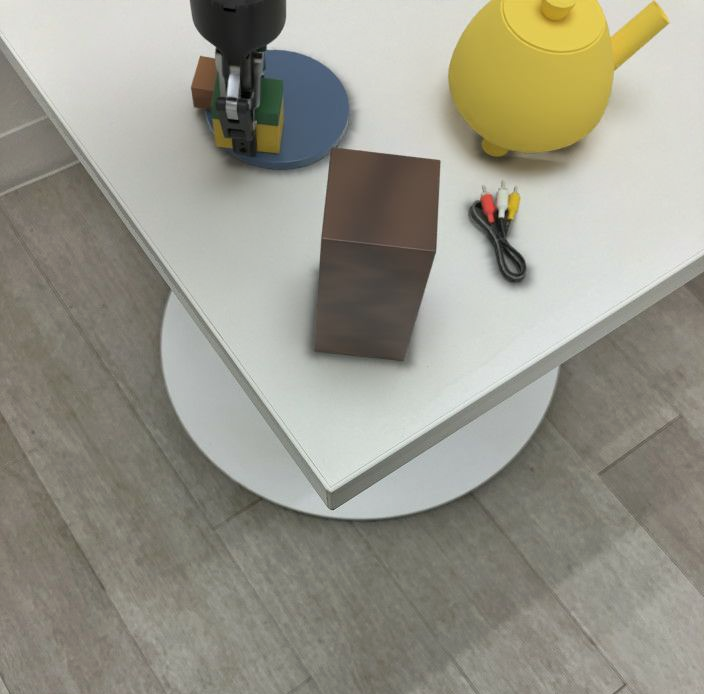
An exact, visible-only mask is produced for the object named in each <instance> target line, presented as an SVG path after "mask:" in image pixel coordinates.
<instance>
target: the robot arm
mask: <svg viewBox="0 0 704 694" xmlns="http://www.w3.org/2000/svg"><path fill="white" fill-rule="evenodd" d="M189 5H190V14H191V19H192V23H193V25H194V27H195V29H196V31H197V33H198V34H199V35H200V36H201V37H202V38H203V39H204V40H205V41H207V42H208V43H209V44H211V45H212V46H213V47H214V48H215V49H214V58H215V66H216V70H217V71H218V73H219V85H220V96H217V101H216V102H215V107H216V109H217V114H218V117H219V121H220V124H221V128H222V131H223V135H224V138H232V146H233V152H234V153H235V154H238V155H246V156H255V155H256V153H257V136H256V126H257V120H256V108H258V107H259V105H260V101H261V96H262V95H261V77H262V78H265V73H264V70H265V69H266V63H267V50H268V45H269V44H271V43H272V42H274V41H275V40H276V39H277V38H278V37H279V36H280V34H281V33H282V31H283V30H284V27H285V25H286V21H287V0H189ZM253 86H254V91H247V90H250V89H251V88H253ZM242 90H246V91H242Z"/></svg>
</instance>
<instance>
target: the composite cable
mask: <svg viewBox="0 0 704 694" xmlns="http://www.w3.org/2000/svg"><path fill="white" fill-rule="evenodd" d="M481 189H482V193H480V198H479V199H476V200H474V201H473V202H472V204H471V205H470V207H469V208H468V213H469V214H470V217H471V219H472V221H473V222H474V223H475V224H476V225H477V226H478V227H479V228H481V230H482V231H483V232H484V233H485V234H486V235H487V236H488V237H489V238H490V240H491V242H492V243H493V245H494V248H495V251H496V257H497V262H498V266H499V269H500V272H501V274H502V276H503V277H504V278H505V279H506V280H508V281H510V282H513V283H517V282H521V281H523V279H524V278H525V276H526V274H527V271H528V270H527V262H526V259H525V257H524V256H523V255H522V254H521V252H519V251H518V250H517V249H515V247H514V246H512V244H510V242H509V241H508V235H509V231H510V229H511V227H512V222H513V221H514V219H515V215H516V214H518V212H519V207H520V203H521V195H520V193H519V191H518V190H519V185H514V187H513V191H512V192H511V193H510V191H509V190H508V188H507V187H506V181H505V180H501V185H500V187H498V188H497V191H496V193H495V203H494V199H493V195H492V194H491V192H490V191H488V190H487V186H486V185H485V184H482V185H481ZM476 209H479V210H481V211H482V213H483V215H484V216H485V217H486V218H487V222H486V221H484V219H483V218H482V217H481V216H480V215H479V214H478V213H477V210H476ZM504 253H505V254H506V255H507V256H508V257H509V259H510V260H511V261H513V262H514V264H515V265H516V266H517V268H518V270H519V272H512V271H511V270H510V269H509V267H508V265H507V263H506V259H505V254H504Z"/></svg>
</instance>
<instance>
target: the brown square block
mask: <svg viewBox="0 0 704 694" xmlns="http://www.w3.org/2000/svg"><path fill="white" fill-rule="evenodd" d="M217 72H218V71H217V70H216V66H215V57H211V56H205V55H199V58H198V61H197V65H196V68H195V71H194V75H193V78H192V82H191V85H190V90H191V96H192V97H191V98H192V104H193V108H196V109H201V110H205V109H206V110H211V102H212V96H213V91H214V85H215V80H216V74H217Z"/></svg>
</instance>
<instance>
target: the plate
mask: <svg viewBox="0 0 704 694" xmlns="http://www.w3.org/2000/svg"><path fill="white" fill-rule="evenodd" d="M264 73H265V78H270V79H279V80H283V108H284V123H283V130H282V137H281V144H280V151H279V154H276V153H268V152H259V151H257V153H256V155H255V156H246V155H238V154H235V153H234V152H233V148H224V147H222V148H223V149H224V150H225V151H226V152H227V153H229V154H230V155H231V156H233V157H234V158H236V159H238V160H240V161H241V162H243V163H246V164H248V165H252V166H255V167H258V168H263V169H269V170H290V169H296V168H297V169H298V168H302V167H306V166H309V165H312V164H314V163H316V162H318V161H320V160H322V159H324V158H325V157H326V156H329V155H330V153H331V148H332V147H335V148H337V147H338V145H339V144H340V143H341V141H342V140H343V138H344V136H345V134H346V131H347V129H348V126H349V125H348V124H349V119H350V101H349V96H348V94H347V91H346V88H345V87H344V85H343V83H342V81H341V80H340V78H339V77H338V76H337V75H336V74H335V73H334V72H333V71H332V70H331V69H330V68H329V67H328V66H326V65H325V64H324V63H322V62H320V61H319V60H316V59H315V58H313V57H311V56H308V55H305V54H303V53H299V52H296V51H291V50H286V49H285V50H284V49H267V63H266V69H265V70H264ZM204 110H205V118H206V122H207V126H208V128H209V131H210V133H211V135H212V137H213V138H214V139H215V136H214V128H213V120H212V113H211V110H206V109H204Z"/></svg>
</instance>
